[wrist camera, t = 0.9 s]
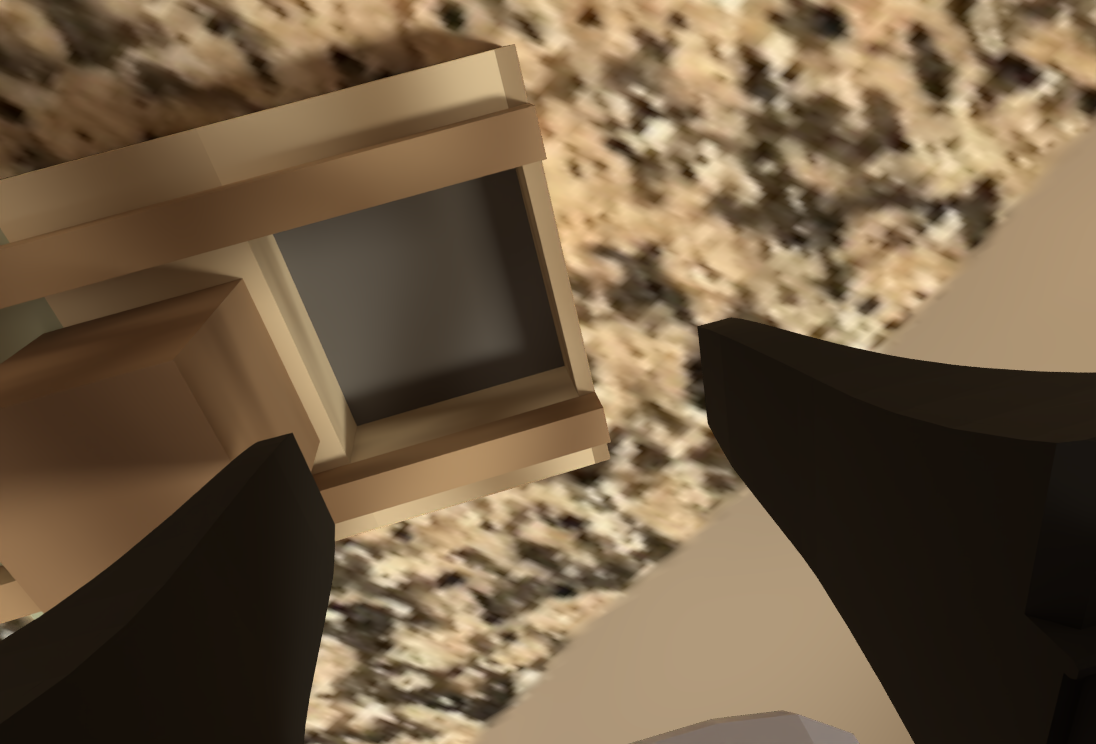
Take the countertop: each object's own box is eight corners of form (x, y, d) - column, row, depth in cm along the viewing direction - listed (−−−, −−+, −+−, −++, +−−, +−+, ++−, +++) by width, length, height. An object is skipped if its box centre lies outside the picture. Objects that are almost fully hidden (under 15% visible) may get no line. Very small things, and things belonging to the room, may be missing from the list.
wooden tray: (81, 571, 22) (23, 655, 19) (-183, 227, 16) (-326, 266, 13) (592, 420, 23) (618, 477, 20) (503, 46, 17) (520, 42, 14)
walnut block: (146, 490, 18) (56, 629, 14) (43, 333, 16) (-105, 437, 12) (320, 440, 18) (286, 560, 14) (242, 278, 16) (172, 359, 12)
